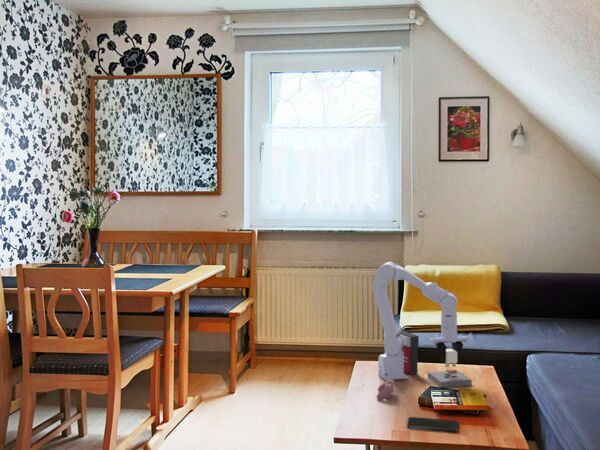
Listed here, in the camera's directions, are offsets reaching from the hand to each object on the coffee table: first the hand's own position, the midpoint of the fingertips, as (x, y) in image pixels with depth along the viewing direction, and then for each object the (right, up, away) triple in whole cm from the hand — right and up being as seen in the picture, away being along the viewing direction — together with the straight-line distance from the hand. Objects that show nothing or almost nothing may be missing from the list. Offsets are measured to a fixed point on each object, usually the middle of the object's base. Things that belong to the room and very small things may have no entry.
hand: (449, 361), depth 217 cm
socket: (0, -7, 0) cm, 7 cm away
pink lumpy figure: (-26, -9, -15) cm, 31 cm away
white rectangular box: (0, -2, 0) cm, 2 cm away
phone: (-16, -10, -42) cm, 46 cm away
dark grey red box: (-14, -7, +14) cm, 21 cm away
